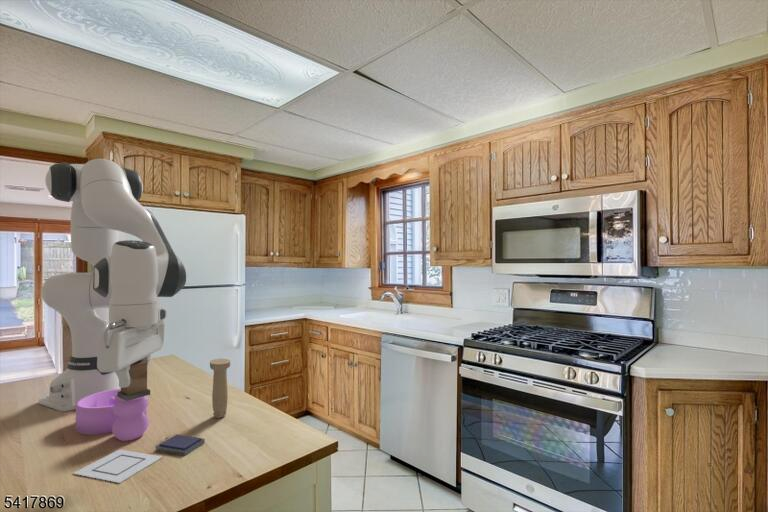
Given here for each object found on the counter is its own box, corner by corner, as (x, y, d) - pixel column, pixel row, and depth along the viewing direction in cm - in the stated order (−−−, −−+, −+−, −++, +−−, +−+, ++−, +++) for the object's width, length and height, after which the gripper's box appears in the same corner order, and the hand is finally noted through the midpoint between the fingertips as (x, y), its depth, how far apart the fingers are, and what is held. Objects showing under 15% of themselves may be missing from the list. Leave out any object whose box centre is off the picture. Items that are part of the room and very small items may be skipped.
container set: (68, 423, 101) (69, 373, 101) (134, 406, 113) (134, 361, 113) (97, 453, 85) (98, 394, 85) (170, 430, 97) (171, 377, 97)
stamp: (117, 396, 81) (117, 363, 81) (140, 390, 85) (140, 358, 85) (126, 401, 79) (127, 366, 79) (150, 394, 82) (150, 362, 83)
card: (72, 474, 77) (72, 472, 77) (119, 450, 86) (119, 449, 86) (119, 483, 74) (119, 482, 74) (162, 457, 83) (162, 456, 83)
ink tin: (155, 450, 86) (155, 444, 86) (176, 438, 92) (176, 433, 92) (184, 455, 84) (184, 449, 84) (204, 443, 90) (204, 437, 90)
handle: (215, 422, 101) (215, 365, 101) (206, 415, 106) (206, 360, 106) (233, 417, 104) (233, 362, 105) (224, 410, 109) (224, 357, 109)
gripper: (123, 324, 72) (123, 398, 72) (170, 309, 92) (169, 367, 92) (86, 325, 71) (86, 399, 71) (141, 310, 92) (141, 368, 91)
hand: (133, 381), depth 82 cm, fingers closed on stamp, 5 cm apart
